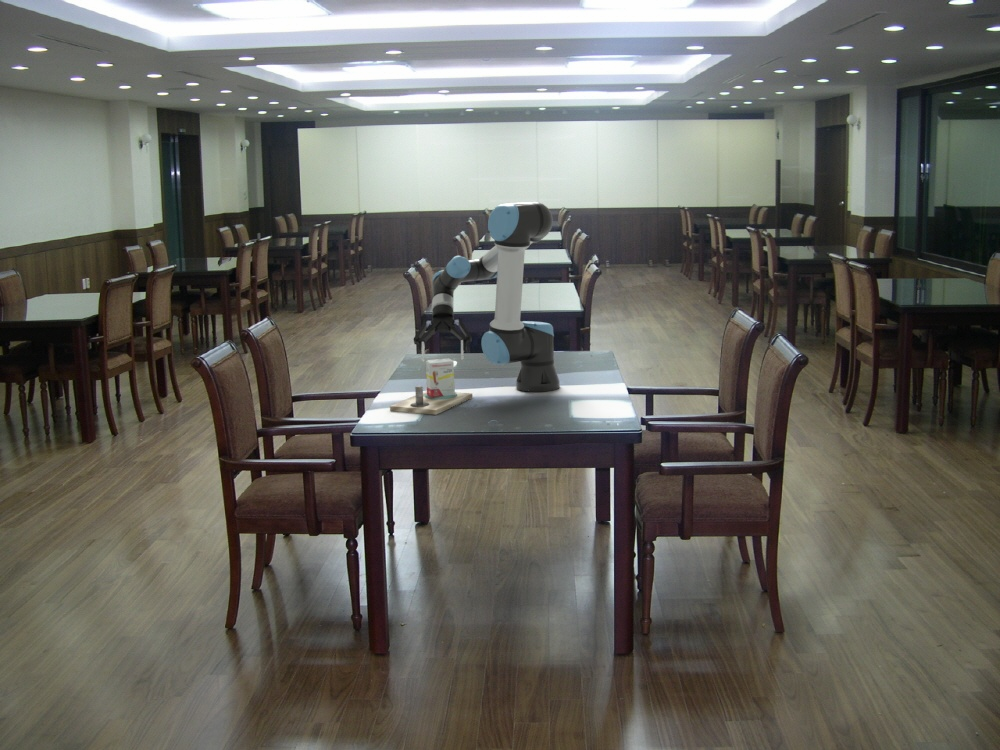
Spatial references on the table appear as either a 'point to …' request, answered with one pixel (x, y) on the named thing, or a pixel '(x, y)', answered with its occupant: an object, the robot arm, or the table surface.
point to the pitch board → (429, 402)
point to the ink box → (440, 377)
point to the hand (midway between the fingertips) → (442, 358)
